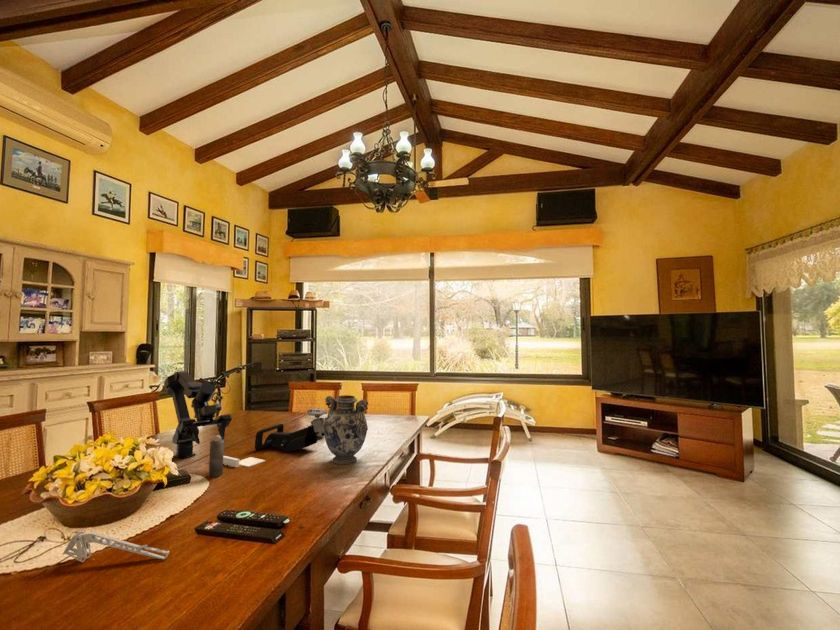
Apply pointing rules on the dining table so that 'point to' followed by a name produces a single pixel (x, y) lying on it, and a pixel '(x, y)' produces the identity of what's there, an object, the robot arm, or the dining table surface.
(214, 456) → the pepper mill
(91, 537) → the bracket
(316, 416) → the figurine
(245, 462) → the coaster
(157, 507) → the dining table surface
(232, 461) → the low frosted rail
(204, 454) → the dining table surface
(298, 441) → the black looped hood device
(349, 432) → the decorative vase
